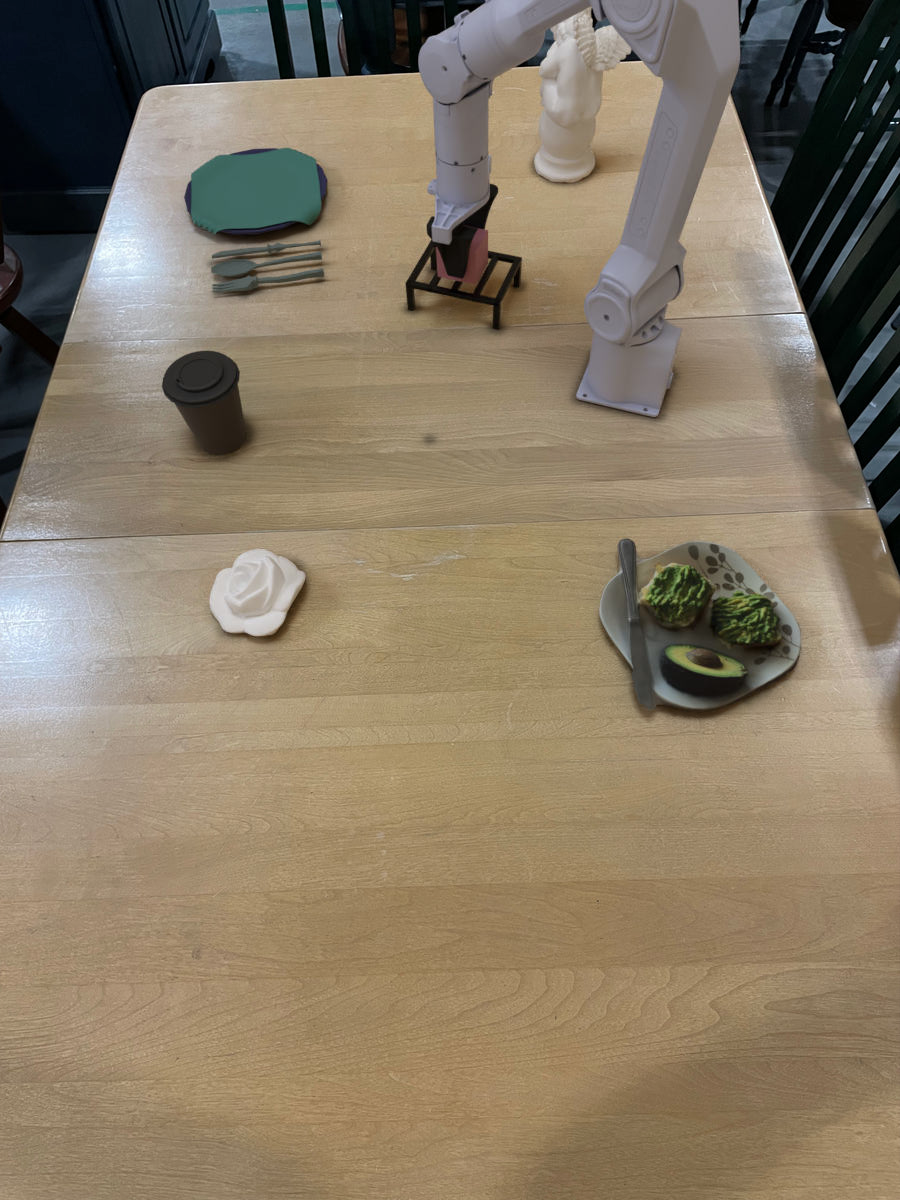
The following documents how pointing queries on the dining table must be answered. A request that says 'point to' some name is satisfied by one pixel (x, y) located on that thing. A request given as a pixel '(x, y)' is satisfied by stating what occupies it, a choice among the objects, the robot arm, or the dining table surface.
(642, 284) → the robot arm
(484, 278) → the rack
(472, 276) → the pink box
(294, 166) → the cutlery set
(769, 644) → the avocado toast plate
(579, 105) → the cherub figurine
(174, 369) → the coffee cup
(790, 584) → the dining table surface
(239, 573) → the rose
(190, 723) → the dining table surface
